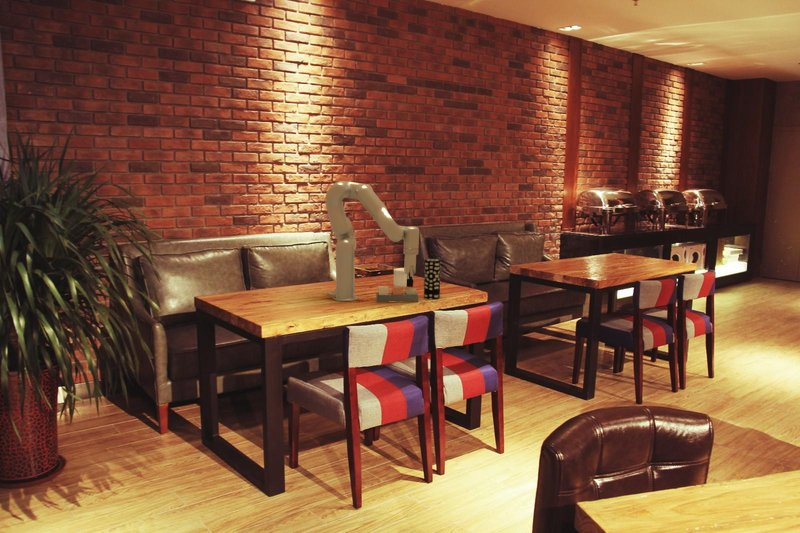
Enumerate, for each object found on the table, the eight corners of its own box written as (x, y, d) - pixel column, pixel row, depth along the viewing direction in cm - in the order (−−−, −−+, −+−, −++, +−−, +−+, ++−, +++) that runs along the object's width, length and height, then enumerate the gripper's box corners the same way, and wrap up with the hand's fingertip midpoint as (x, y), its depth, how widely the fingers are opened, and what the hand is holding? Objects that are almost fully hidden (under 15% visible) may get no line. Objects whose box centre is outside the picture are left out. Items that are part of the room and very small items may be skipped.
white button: (378, 297, 325) (378, 288, 324) (378, 296, 330) (378, 286, 329) (388, 297, 326) (388, 288, 325) (387, 295, 330) (387, 286, 329)
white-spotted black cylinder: (438, 299, 332) (439, 261, 329) (422, 299, 333) (423, 260, 330) (440, 296, 340) (441, 259, 337) (425, 295, 341) (425, 258, 338)
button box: (376, 302, 324) (377, 295, 324) (376, 299, 331) (376, 292, 330) (417, 301, 326) (418, 295, 326) (416, 299, 333) (416, 292, 333)
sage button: (406, 300, 327) (406, 290, 326) (405, 298, 331) (405, 288, 331) (415, 299, 327) (415, 290, 326) (414, 297, 332) (414, 288, 331)
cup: (391, 286, 365) (391, 269, 364) (396, 283, 375) (396, 267, 373) (407, 288, 363) (407, 270, 361) (412, 284, 372) (412, 268, 371)
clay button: (392, 297, 326) (392, 288, 325) (391, 295, 330) (391, 286, 330) (402, 297, 326) (402, 287, 326) (401, 295, 331) (401, 286, 330)
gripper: (401, 248, 332) (400, 283, 335) (405, 252, 318) (404, 289, 321) (416, 249, 333) (415, 284, 336) (420, 253, 319) (419, 289, 321)
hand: (409, 286), depth 328 cm, fingers closed
